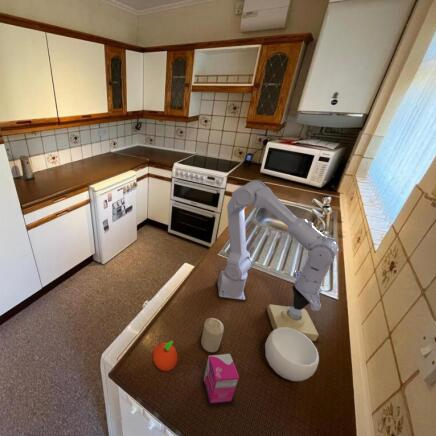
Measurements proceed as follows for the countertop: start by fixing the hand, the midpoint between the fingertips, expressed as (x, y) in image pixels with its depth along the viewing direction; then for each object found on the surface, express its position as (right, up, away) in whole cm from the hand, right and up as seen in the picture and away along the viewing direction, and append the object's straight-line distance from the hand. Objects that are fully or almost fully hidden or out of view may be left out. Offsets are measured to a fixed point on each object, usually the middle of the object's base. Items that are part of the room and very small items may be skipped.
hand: (297, 307), depth 76 cm
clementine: (-43, -13, -8) cm, 45 cm away
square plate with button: (0, -7, +4) cm, 8 cm away
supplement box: (-30, -17, -14) cm, 37 cm away
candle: (-29, -10, -3) cm, 31 cm away
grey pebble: (0, -3, +2) cm, 4 cm away
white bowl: (-9, -14, -8) cm, 18 cm away
